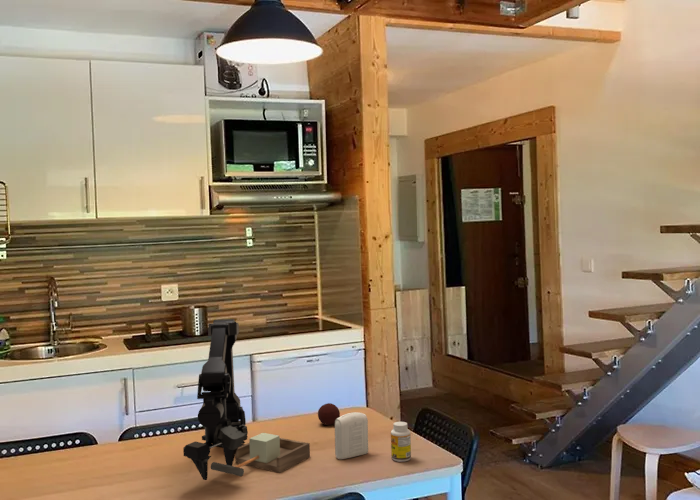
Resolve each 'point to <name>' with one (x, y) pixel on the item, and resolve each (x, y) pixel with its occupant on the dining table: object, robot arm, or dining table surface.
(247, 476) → the dining table surface
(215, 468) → the corded block
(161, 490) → the dining table surface
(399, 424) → the supplement bottle
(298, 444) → the brown wooden tray
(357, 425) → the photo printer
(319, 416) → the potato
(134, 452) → the dining table surface
